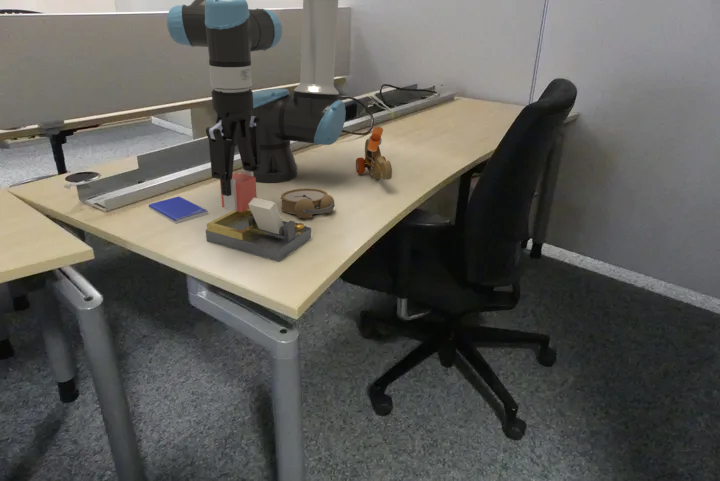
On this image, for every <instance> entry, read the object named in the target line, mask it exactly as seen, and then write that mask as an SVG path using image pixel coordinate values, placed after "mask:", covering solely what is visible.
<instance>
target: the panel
mask: <svg viewBox="0 0 720 481" xmlns="http://www.w3.org/2000/svg"><path fill="white" fill-rule="evenodd" d="M281 219H282V222H283V225H284V236H280V235H276V234H272V233H269V232H265V231H261V230H258V229H257V223H256V221H255V219H254V216H253V214H252V212H251V209H250V208H249V209H247V210H245V211H243V212H239V211H232V210H230V211H229V212H227V213H225V214H223V215H221V216H219V217H217V218H216V219H214V220H212V221H209V222H208V223H206V229H205V238H206V242H209V243H213V244H216V245H220V246H223V247H227V248H230V249H234V250H237V251H240V252H243V253H247V254H250V255H255V256H258V257H261V258H264V259H268V260H272V261H276V262H280V261H282V260H284V258H286V257H288V256H289V255H291V254H292V253H293V252H294V251H296V250H298V249H299V248H300V247H301V246H303V245H305V244H306V243H307V242H309V241H310V240H312V227H309V226H306V225H304V223H302V222H298V223H297V222H296V221H293V220H289V221H285V220H283V218H282V217H281ZM295 222H296V223H295Z"/></svg>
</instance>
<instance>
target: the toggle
mask: <svg viewBox="0 0 720 481" xmlns="http://www.w3.org/2000/svg"><path fill="white" fill-rule="evenodd" d="M248 205H249V207H250V208H249V209H251V212H252V214H253V216H254V219H255V221H256V223H257V229H258V230H261V231H265V232H269V233H272V234H276V235H280V236H284V225H283V222H282V221H283V218H282V217H281V214H280V212H279V210H278V207H277V204H276V202H274V201H271V200H266V199H262V198H258V197H257V198H253V199H252V200H251V202H250V203H249V204H248ZM281 218H282V219H281Z"/></svg>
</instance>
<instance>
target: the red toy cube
mask: <svg viewBox="0 0 720 481" xmlns="http://www.w3.org/2000/svg"><path fill="white" fill-rule="evenodd" d="M232 179H235V182H236V197H237V211H239V212H243V211H245V210H247V209H250V207H249V205H248V204H249V203H250V202H251V200H252V199H253V198H258V197H257V181H256V177H253V176H248V175H244V174H241V173H239V172H235V173H234V172H233V174H232ZM219 185H220V188H221V180H220V179H219ZM220 197H221V198H220V199H221V207H222V208H223V209H224V197H223V195H222V190H221V189H220Z"/></svg>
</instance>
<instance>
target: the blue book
mask: <svg viewBox="0 0 720 481" xmlns="http://www.w3.org/2000/svg"><path fill="white" fill-rule="evenodd" d="M148 209H150V210H151V211H153V212H155V213H156V214H158V215H160V216H161V217H163V218H165V219H167V220H168V221H171V222H172V223H174V224H175V225H176V224H181V223H183V222H187V221H190V220H194V219H196V218H199V217H202V216H206V215H209V211H208V210H207V209H206V208H203V207H202V206H199V205H198V204H195V203H193V202H191V201H189V200H187V199H185V198H183V197H181V196H175V197H171V198H168V199H163V200H159V201H156V202H152V203H150V204H148Z"/></svg>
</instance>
